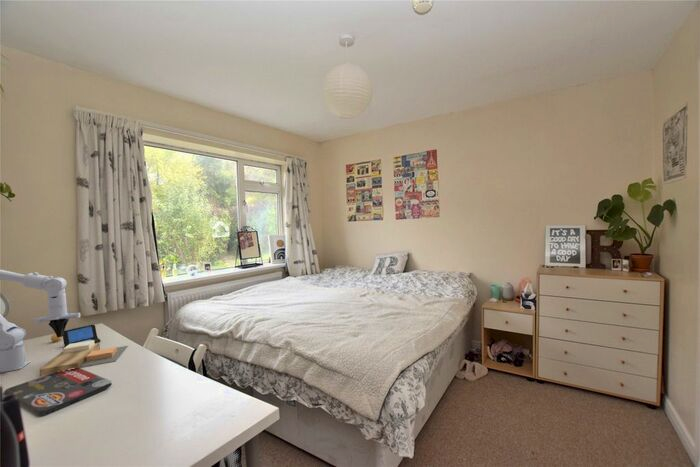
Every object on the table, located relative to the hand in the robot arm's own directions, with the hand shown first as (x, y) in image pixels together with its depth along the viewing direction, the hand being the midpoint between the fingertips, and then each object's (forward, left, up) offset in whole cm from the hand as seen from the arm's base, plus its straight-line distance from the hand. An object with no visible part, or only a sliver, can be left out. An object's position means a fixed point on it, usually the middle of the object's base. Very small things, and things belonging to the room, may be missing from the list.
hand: (60, 336), depth 133 cm
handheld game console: (+1, +17, -10) cm, 20 cm away
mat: (+18, -7, -10) cm, 21 cm away
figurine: (-12, +29, -10) cm, 33 cm away
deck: (+5, -5, -10) cm, 12 cm away
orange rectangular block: (+16, -7, -10) cm, 20 cm away
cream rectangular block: (+5, +2, -7) cm, 9 cm away
